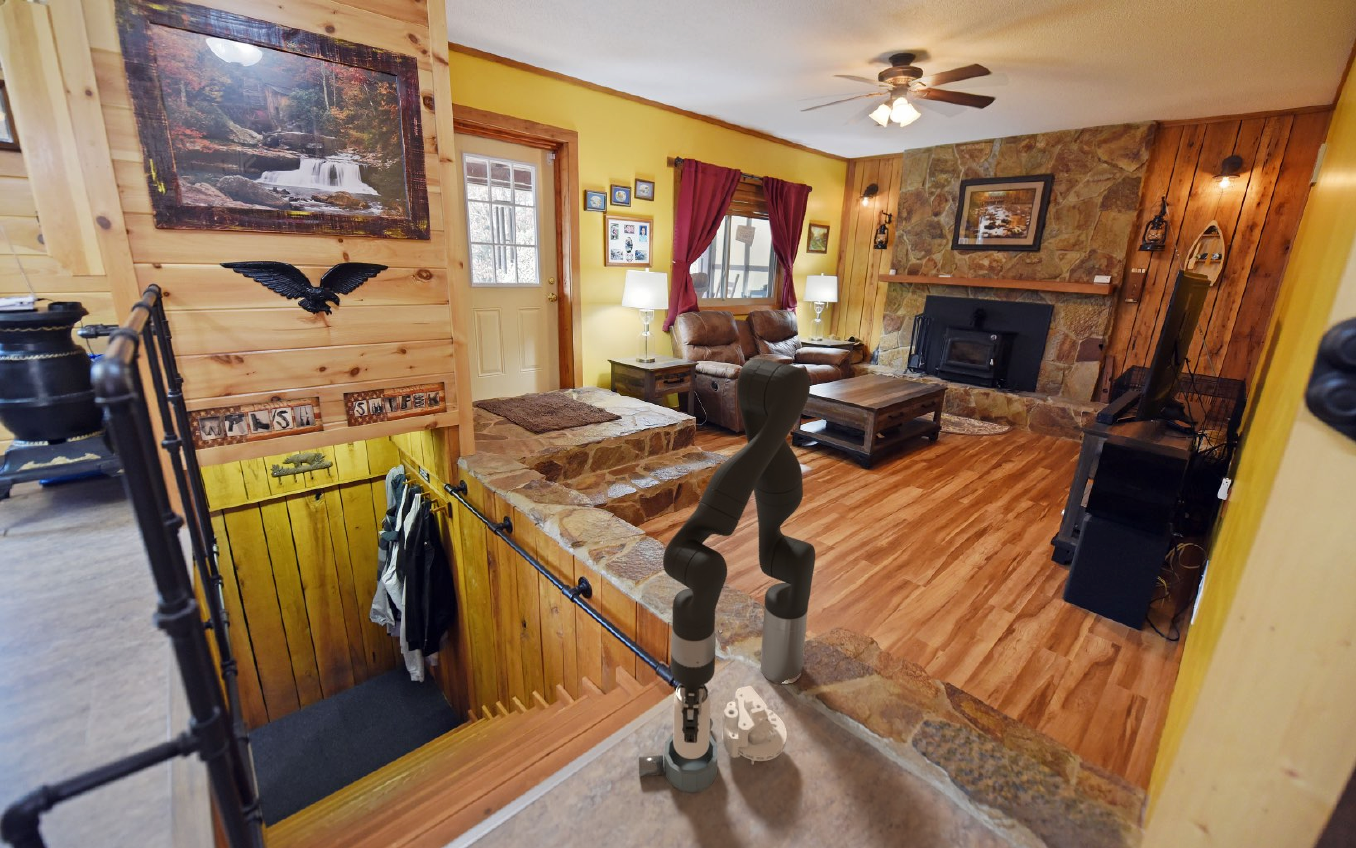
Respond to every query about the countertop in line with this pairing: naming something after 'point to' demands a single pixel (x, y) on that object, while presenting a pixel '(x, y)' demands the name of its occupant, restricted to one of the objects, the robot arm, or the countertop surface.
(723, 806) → the countertop surface
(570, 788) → the countertop surface
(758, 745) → the mechanical part
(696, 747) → the can
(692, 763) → the collar
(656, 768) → the shaft
